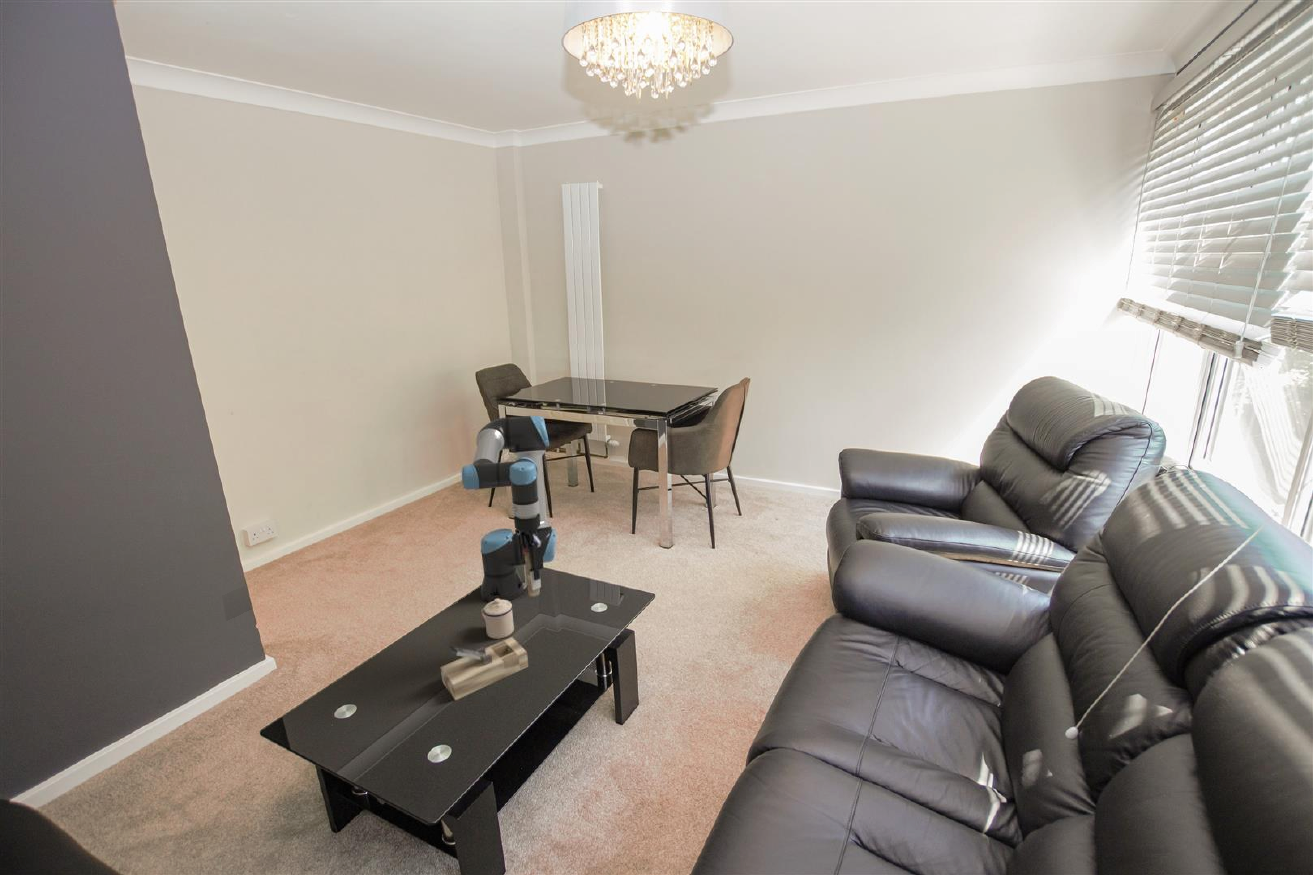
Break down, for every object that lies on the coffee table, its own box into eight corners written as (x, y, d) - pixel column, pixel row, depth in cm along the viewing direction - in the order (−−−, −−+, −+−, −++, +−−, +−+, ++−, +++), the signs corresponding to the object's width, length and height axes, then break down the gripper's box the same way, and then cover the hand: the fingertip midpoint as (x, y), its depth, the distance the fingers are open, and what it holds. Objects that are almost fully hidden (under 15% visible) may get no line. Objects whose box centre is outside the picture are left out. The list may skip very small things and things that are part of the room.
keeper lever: (447, 649, 163) (448, 645, 163) (482, 655, 170) (483, 652, 170) (451, 654, 160) (452, 650, 161) (486, 660, 168) (488, 657, 168)
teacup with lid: (520, 627, 193) (517, 596, 190) (500, 642, 185) (497, 610, 182) (493, 618, 199) (490, 587, 196) (473, 632, 191) (469, 600, 188)
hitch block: (442, 682, 168) (439, 660, 166) (513, 651, 181) (511, 630, 179) (455, 700, 160) (452, 677, 158) (528, 666, 173) (526, 645, 171)
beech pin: (525, 593, 179) (520, 548, 176) (536, 589, 182) (532, 544, 178) (531, 598, 176) (527, 553, 173) (543, 593, 179) (539, 549, 175)
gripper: (502, 509, 176) (509, 580, 182) (528, 526, 164) (535, 600, 170) (525, 503, 181) (531, 572, 187) (551, 518, 169) (557, 591, 175)
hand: (533, 585), depth 178 cm, fingers closed on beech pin, 3 cm apart
